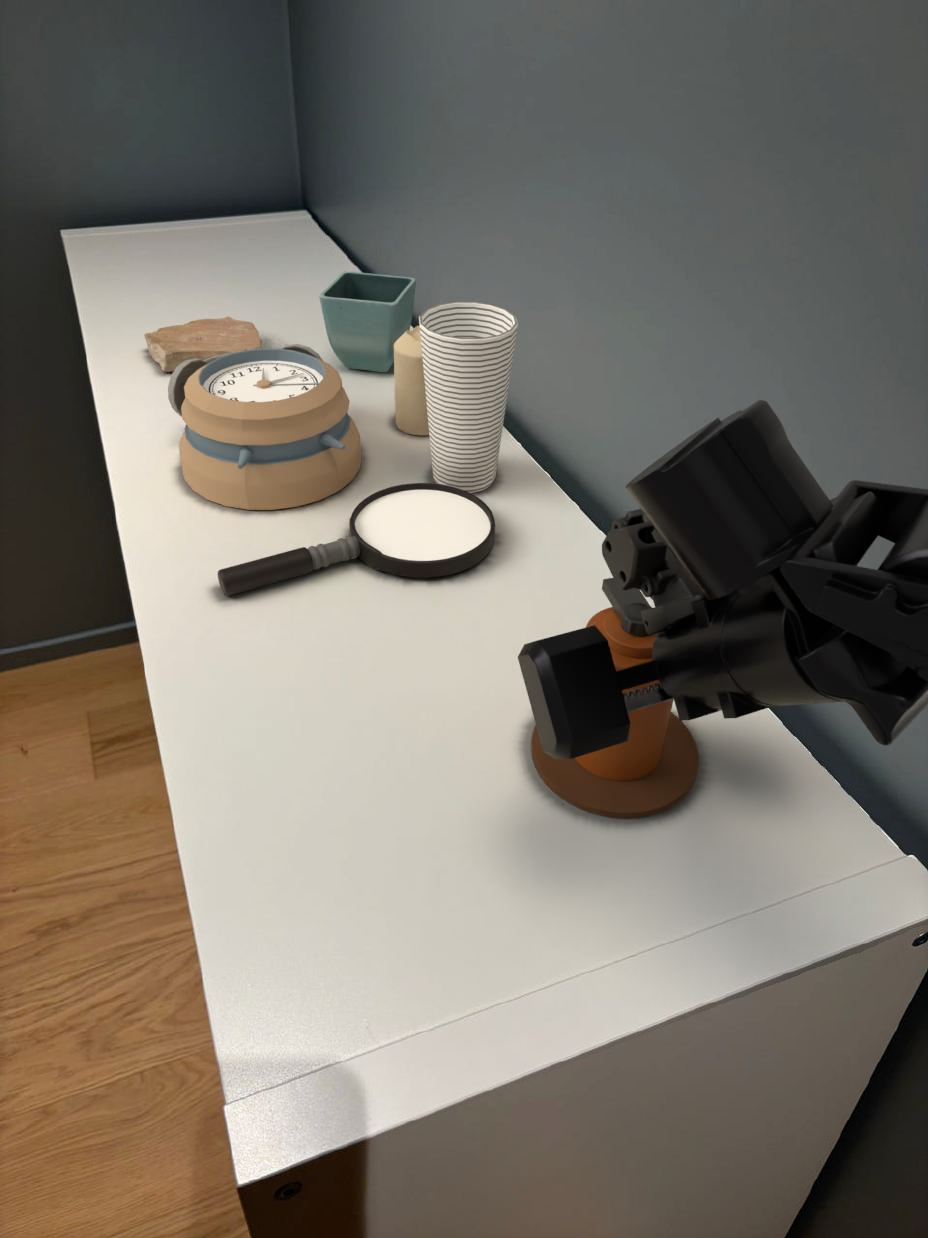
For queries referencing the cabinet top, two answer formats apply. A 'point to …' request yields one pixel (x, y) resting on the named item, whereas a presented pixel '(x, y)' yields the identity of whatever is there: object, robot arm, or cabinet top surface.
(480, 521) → the magnifying glass
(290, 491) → the alarm clock
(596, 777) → the coaster
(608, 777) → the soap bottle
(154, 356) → the stone
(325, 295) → the flower pot
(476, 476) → the cup
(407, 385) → the candle
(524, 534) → the cabinet top surface
